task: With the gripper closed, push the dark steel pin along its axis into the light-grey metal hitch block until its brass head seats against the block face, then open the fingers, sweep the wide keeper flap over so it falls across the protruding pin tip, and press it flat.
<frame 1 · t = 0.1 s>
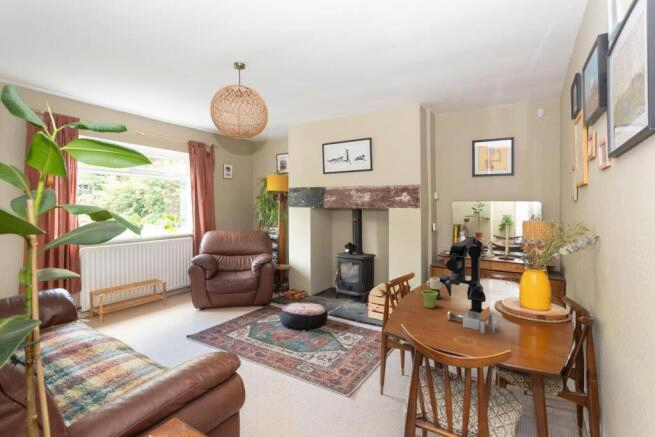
hand: (459, 297, 169), 15 cm above the table, fingers open, 9 cm apart
hitch block: (474, 325, 169), on the table
keeper flap: (485, 314, 165), point 7 cm above the table, hinge at 100.0°
plant pot: (429, 306, 199), on the table
character mug: (435, 298, 216), on the table
lynch pin: (461, 317, 173), point 3 cm above the table, slide at 0.0 cm
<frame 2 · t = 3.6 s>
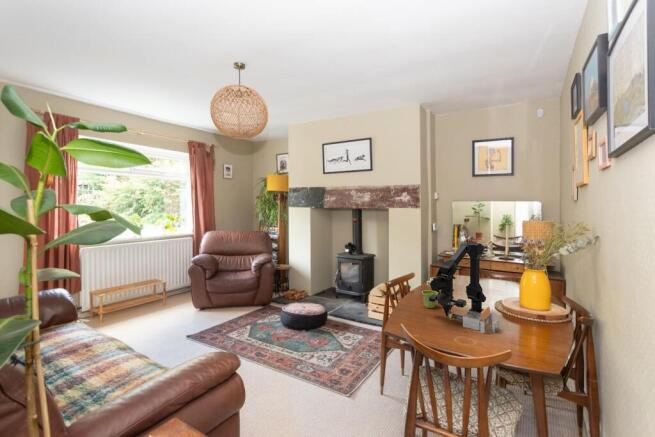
hand: (447, 316, 178), 2 cm above the table, fingers closed
lynch pin: (463, 318, 173), point 3 cm above the table, slide at 1.0 cm, touching gripper
everything else where it was.
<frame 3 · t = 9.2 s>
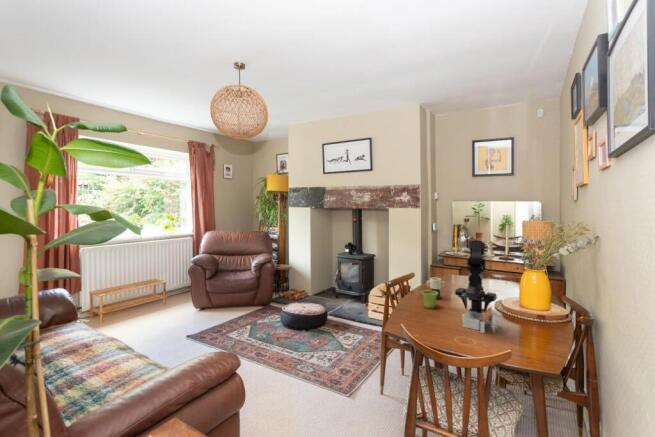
hand: (475, 310, 168), 8 cm above the table, fingers open, 9 cm apart
keeper flap: (487, 314, 165), point 7 cm above the table, hinge at 84.5°, touching gripper
lynch pin: (475, 321, 168), point 3 cm above the table, slide at 7.5 cm
everything else where it was.
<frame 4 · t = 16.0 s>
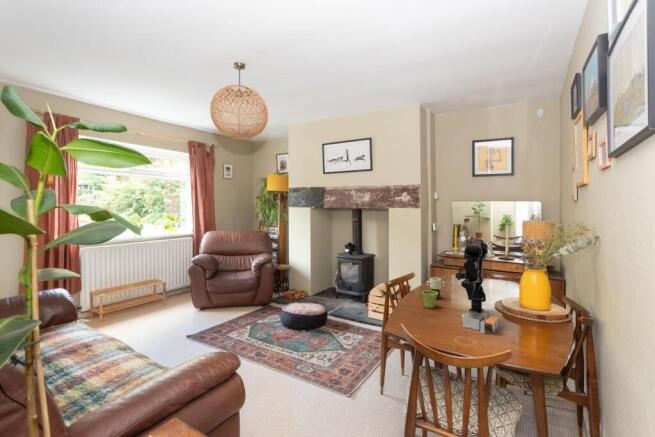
hand: (472, 296, 179), 12 cm above the table, fingers open, 9 cm apart
keeper flap: (491, 319, 164), point 5 cm above the table, hinge at -0.4°
everything else where it was.
at the end: lynch pin slide at 7.5 cm; keeper flap at +0° (first picture: +100°) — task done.
